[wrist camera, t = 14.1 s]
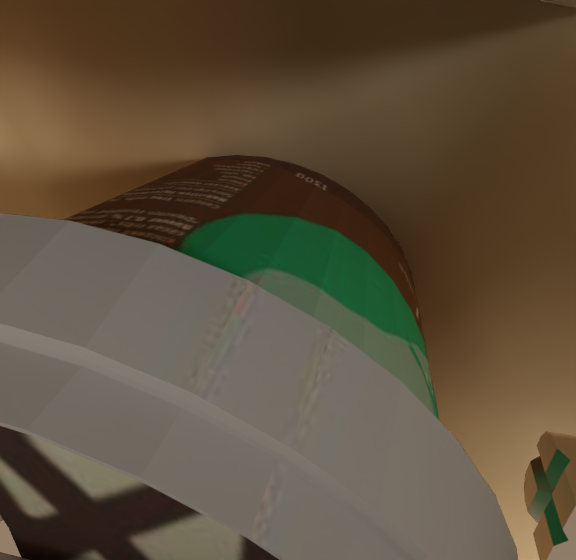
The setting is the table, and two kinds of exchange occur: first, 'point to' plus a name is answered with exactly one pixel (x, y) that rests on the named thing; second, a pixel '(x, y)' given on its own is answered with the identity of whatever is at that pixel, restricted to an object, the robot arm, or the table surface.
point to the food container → (226, 381)
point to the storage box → (562, 2)
